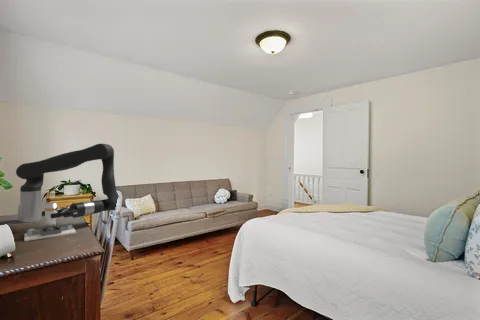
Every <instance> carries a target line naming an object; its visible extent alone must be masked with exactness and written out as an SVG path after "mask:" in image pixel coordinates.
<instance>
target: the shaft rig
mask: <svg viewBox="0 0 480 320" xmlns="http://www.w3.org/2000/svg"><path fill="white" fill-rule="evenodd" d="M75 234H77V230H76V228H75V227H74V226H73V224H71V223H66V224H65V225H59V226H58V225H57V230H53V231H46V232H45V227H44V228H39V229H35V228H29V229H27V232H25V233H24V237H23V238H24V242H29V241H35V240H36V241H37V240H42V239H48V238H55V237H62V236H68V235H75Z"/></svg>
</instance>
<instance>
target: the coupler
mask: <svg viewBox="0 0 480 320" xmlns="http://www.w3.org/2000/svg"><path fill="white" fill-rule="evenodd" d="M57 208H58V202H47V203H44V211H45V216H44V228H45V232H46V231H53V230H57V226H58V218H51V214H52V213H57Z"/></svg>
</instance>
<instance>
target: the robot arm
mask: <svg viewBox="0 0 480 320" xmlns="http://www.w3.org/2000/svg"><path fill="white" fill-rule="evenodd" d="M114 159H115V150H114V147H113V146H112V145H110V144H107V143H97V144H94V145H92V146H89V147H86V148H83V149H79V150H74V151H69V152H65V153H61V154H58V155H54V156H52V157H48V158H45V159H42V160H38V161H33V162H28V163H27V162H25V163H22V164H20V165H19V166H18V167H17V168H16V170H15V174H16V176H17V177H18V178H20V179H22V180H25V182H24V184H22V185H21V186H20V190H19V191H20V195H19V200H20V201H19V204H18V205H17V206H18V209H17V210H18V213H17V214H18V215H17V218H18V219H17V222H19V223H30V222H31V223H32V222H37V221H41V219H42V218H41V217H45V210H43V211H42V187H43V185H44V179H45V178H44V177H45V174H47V173H48V174H49V173H55V172H61V171H66V170H67V171H68V170H70V169H75V168H76V167H79V166H80V165H82V164H85V163H87V162H91V161H98V160H101V164H102V174H101V179H100V180H101V187H102V193H103V194H104V196H106V197H107V198H103V199H99V200H98V199H97V200H91V201H89V200H88V201H80V202H73V203H71V204H70V205H69V207H67V206H66V207H64V206H62V207H57V213H52V214H51V218H57V219H58V218H64V219H65V218H70V217H71V218H72V219H75V218H80V217H81V218H82V217H85V216H91V215H94V214H99V213H102V212H107V211H116V210H115V207H116V203H117V199H118V197H119V198H120V196H119V194H118V191H117V187H116V177H115V169H114V168H115V166H114V165H115V163H114V161H115V160H114Z"/></svg>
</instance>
